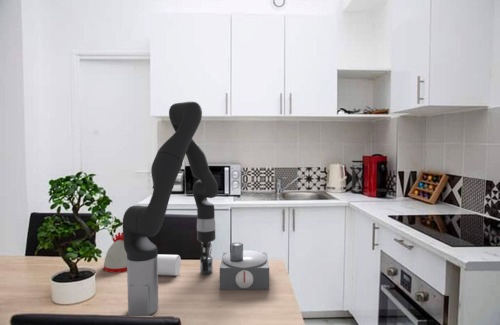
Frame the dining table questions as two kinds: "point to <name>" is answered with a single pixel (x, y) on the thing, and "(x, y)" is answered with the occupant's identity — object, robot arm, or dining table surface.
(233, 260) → the cylinder
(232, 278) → the scale
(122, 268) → the kitchen timer
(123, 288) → the dining table surface
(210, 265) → the cylinder
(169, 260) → the mug
